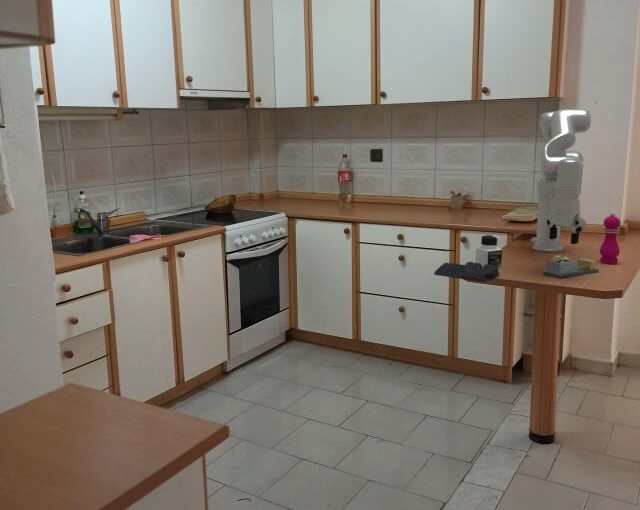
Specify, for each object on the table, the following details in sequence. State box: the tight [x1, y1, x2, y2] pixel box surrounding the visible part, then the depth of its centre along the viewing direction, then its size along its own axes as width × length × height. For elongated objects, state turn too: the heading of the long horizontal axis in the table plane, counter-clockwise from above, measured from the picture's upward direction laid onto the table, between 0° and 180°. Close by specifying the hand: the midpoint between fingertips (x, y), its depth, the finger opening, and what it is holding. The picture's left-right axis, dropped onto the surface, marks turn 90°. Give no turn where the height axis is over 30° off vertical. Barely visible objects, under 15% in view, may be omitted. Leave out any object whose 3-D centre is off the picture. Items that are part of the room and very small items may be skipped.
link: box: [545, 259, 578, 275], centre depth 233 cm, size 6×9×4 cm, turn 118°
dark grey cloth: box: [433, 261, 501, 283], centre depth 235 cm, size 15×22×5 cm
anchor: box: [552, 254, 572, 260], centre depth 254 cm, size 6×3×3 cm, turn 28°
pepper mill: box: [599, 211, 621, 265], centre depth 251 cm, size 7×7×20 cm
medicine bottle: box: [474, 234, 503, 268], centre depth 247 cm, size 7×7×12 cm
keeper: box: [542, 257, 600, 279], centre depth 235 cm, size 8×20×5 cm, turn 118°
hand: (563, 241), depth 232 cm, fingers open, 9 cm apart
